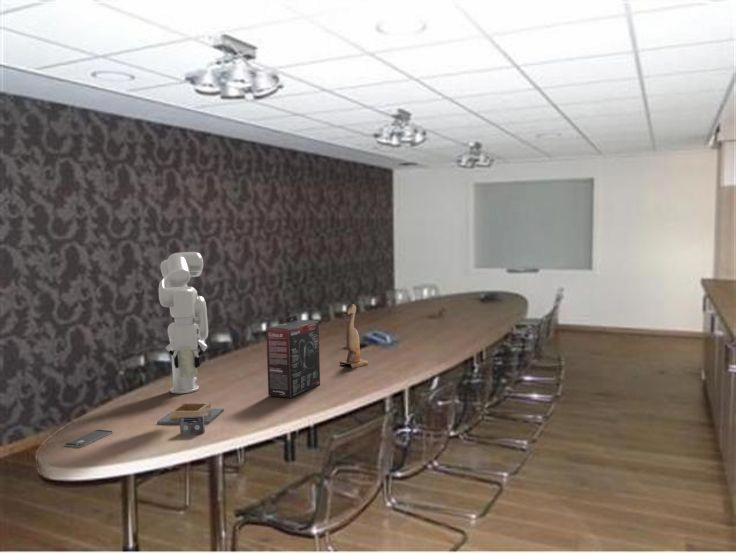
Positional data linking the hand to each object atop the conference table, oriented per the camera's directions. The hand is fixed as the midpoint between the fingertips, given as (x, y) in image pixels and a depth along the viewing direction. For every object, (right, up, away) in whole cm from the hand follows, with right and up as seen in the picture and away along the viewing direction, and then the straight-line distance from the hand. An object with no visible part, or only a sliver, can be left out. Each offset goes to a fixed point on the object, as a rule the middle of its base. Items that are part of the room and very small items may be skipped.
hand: (187, 366), depth 233 cm
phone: (-29, -23, -19) cm, 42 cm away
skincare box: (0, -4, 0) cm, 4 cm away
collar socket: (+1, -20, +1) cm, 20 cm away
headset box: (+37, -16, +35) cm, 54 cm away
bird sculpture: (+62, -11, +81) cm, 103 cm away
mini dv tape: (+7, -21, -17) cm, 28 cm away
